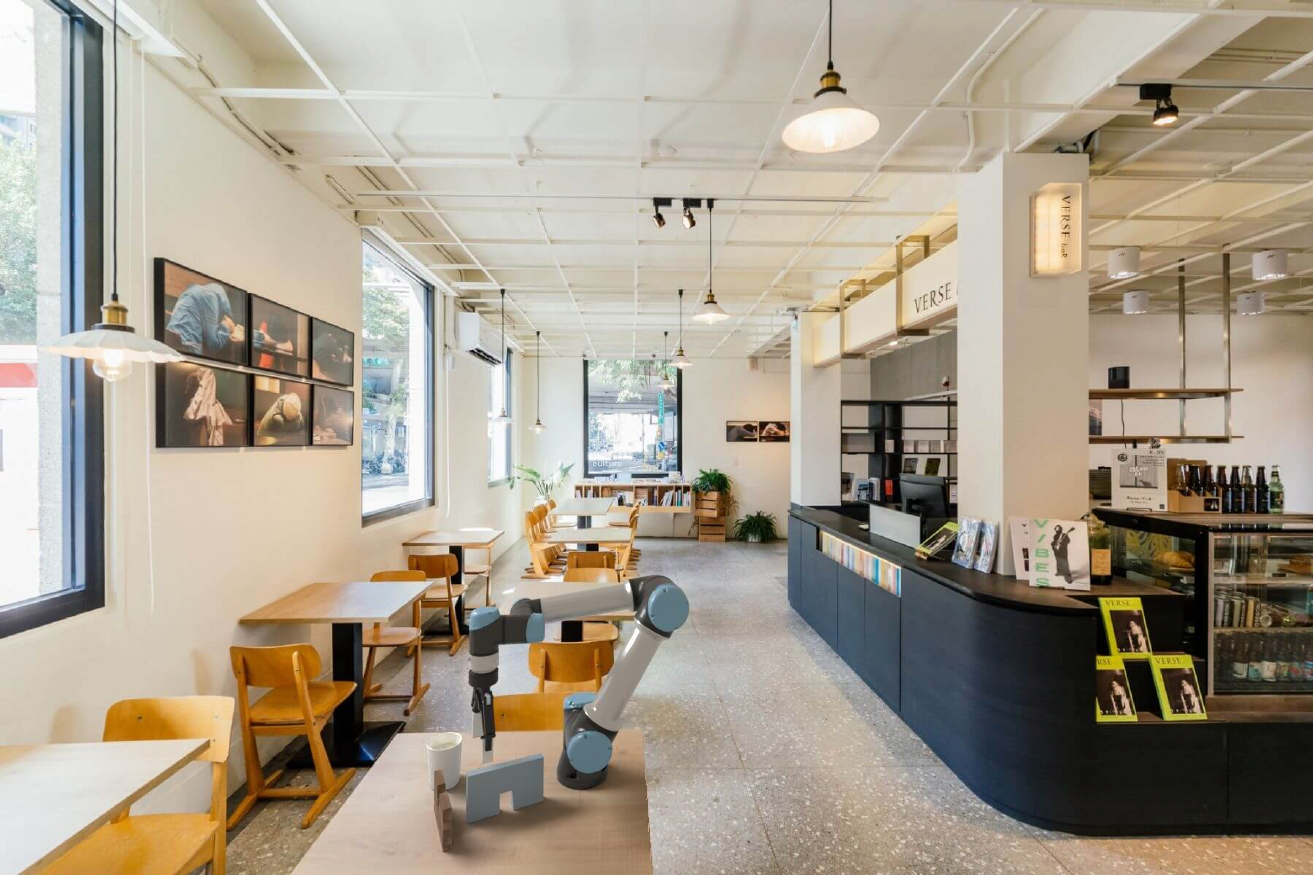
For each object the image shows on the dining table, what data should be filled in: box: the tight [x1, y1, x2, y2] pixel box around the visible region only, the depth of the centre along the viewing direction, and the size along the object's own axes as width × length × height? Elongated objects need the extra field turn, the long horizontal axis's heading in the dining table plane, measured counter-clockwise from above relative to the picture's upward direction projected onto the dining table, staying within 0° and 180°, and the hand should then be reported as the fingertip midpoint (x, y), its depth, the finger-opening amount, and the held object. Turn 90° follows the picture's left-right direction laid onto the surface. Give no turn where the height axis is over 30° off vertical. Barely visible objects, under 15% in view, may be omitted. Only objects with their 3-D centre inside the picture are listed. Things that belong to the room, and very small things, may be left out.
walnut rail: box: [433, 769, 453, 852], centre depth 145 cm, size 2×18×10 cm, turn 27°
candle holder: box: [425, 731, 464, 791], centre depth 164 cm, size 10×10×12 cm
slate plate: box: [465, 752, 545, 824], centre depth 152 cm, size 20×2×12 cm, turn 118°
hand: (482, 748), depth 150 cm, fingers open, 13 cm apart
